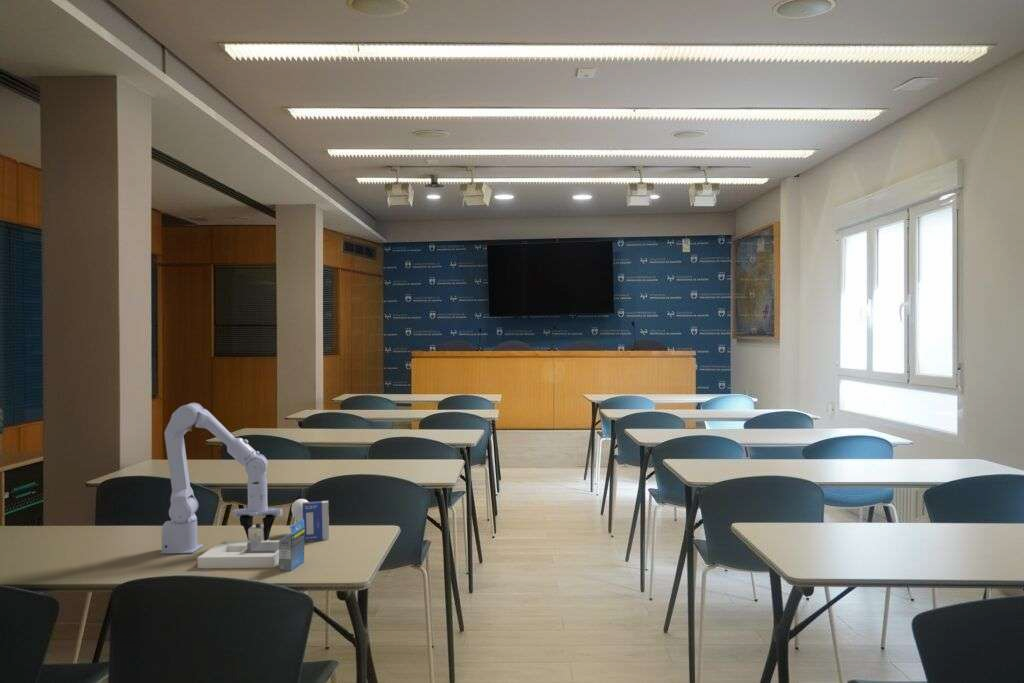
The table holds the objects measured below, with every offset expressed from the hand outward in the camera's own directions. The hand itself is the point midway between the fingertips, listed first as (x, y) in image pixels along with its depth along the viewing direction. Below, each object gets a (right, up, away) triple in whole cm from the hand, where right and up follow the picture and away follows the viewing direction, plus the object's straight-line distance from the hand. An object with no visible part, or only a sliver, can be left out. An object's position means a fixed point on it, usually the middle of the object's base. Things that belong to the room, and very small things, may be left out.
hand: (258, 539), depth 227 cm
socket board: (+1, -2, -14) cm, 14 cm away
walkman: (+16, -2, +6) cm, 17 cm away
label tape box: (+17, -2, -21) cm, 27 cm away
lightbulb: (+9, -2, +14) cm, 17 cm away
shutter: (+7, +1, -14) cm, 16 cm away
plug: (0, -2, 0) cm, 2 cm away
